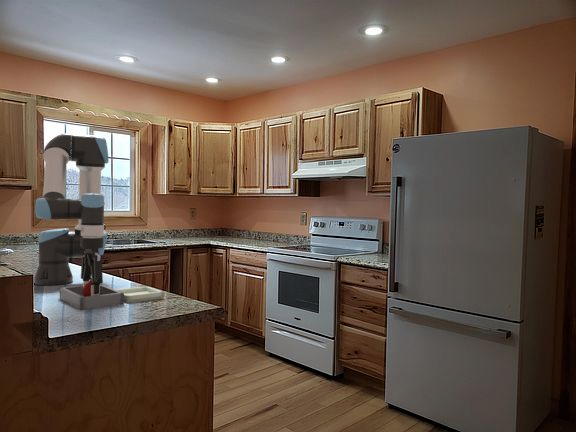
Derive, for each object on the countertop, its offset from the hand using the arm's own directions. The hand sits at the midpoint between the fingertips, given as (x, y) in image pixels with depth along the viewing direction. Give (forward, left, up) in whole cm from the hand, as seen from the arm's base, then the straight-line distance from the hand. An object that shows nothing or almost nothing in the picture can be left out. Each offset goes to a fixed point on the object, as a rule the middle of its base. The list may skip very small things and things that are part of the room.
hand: (91, 300), depth 159 cm
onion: (0, 0, 0) cm, 0 cm away
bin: (0, 0, 0) cm, 0 cm away
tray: (+3, +16, 0) cm, 16 cm away
